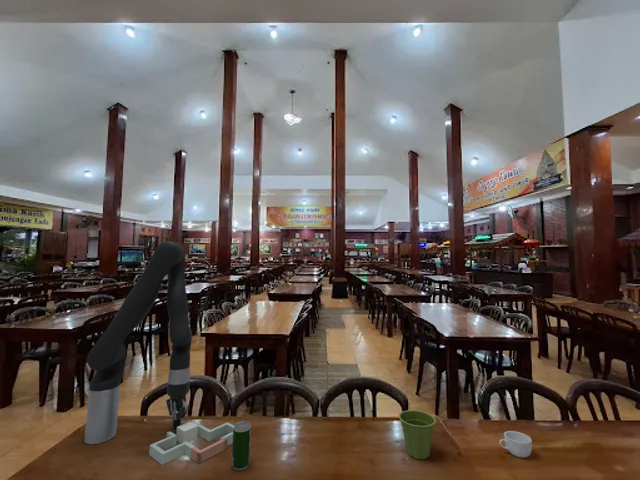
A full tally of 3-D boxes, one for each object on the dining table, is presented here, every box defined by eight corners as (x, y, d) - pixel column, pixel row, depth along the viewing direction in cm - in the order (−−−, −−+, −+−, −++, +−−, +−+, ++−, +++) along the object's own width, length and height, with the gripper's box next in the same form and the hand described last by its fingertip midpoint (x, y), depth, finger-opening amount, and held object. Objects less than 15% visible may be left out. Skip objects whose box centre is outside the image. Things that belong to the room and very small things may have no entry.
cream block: (176, 440, 107) (176, 426, 107) (189, 434, 111) (190, 421, 111) (183, 445, 104) (184, 431, 104) (197, 439, 108) (197, 425, 108)
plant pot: (421, 441, 108) (420, 407, 109) (444, 460, 97) (443, 423, 98) (392, 446, 104) (391, 412, 106) (413, 467, 93) (412, 428, 94)
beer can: (234, 473, 89) (236, 430, 91) (229, 464, 94) (231, 422, 95) (252, 467, 92) (253, 425, 94) (246, 458, 97) (247, 418, 98)
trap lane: (144, 451, 100) (145, 441, 100) (210, 422, 120) (211, 414, 120) (176, 475, 88) (176, 464, 88) (244, 439, 108) (244, 430, 108)
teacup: (523, 447, 105) (522, 431, 106) (538, 461, 97) (537, 443, 98) (493, 446, 105) (492, 430, 106) (506, 460, 97) (506, 442, 98)
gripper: (160, 379, 115) (157, 427, 113) (178, 387, 107) (175, 439, 105) (179, 374, 121) (176, 420, 119) (198, 381, 113) (195, 430, 111)
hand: (176, 429), depth 112 cm, fingers closed
